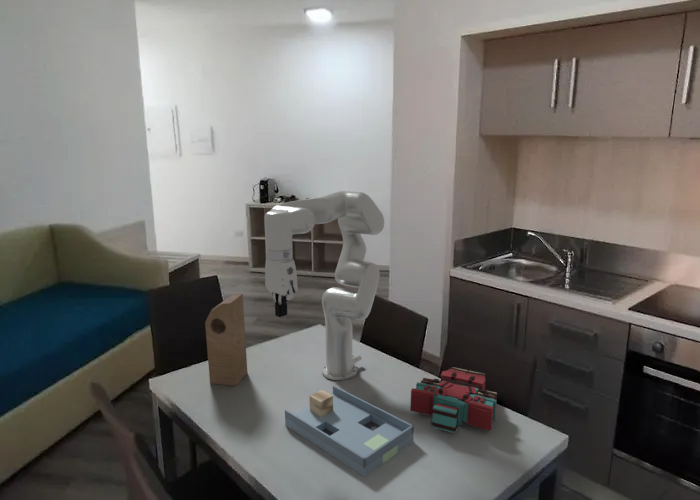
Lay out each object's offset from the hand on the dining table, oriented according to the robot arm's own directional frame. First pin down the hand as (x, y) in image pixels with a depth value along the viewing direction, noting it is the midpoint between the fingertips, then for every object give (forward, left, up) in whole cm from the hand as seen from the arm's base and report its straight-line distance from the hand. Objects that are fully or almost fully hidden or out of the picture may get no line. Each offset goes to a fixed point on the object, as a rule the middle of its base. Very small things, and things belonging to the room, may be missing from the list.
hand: (281, 315), depth 144 cm
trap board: (-6, +21, -32) cm, 39 cm away
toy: (-38, +36, -33) cm, 62 cm away
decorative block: (0, -32, -33) cm, 46 cm away
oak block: (-6, +10, -30) cm, 32 cm away
